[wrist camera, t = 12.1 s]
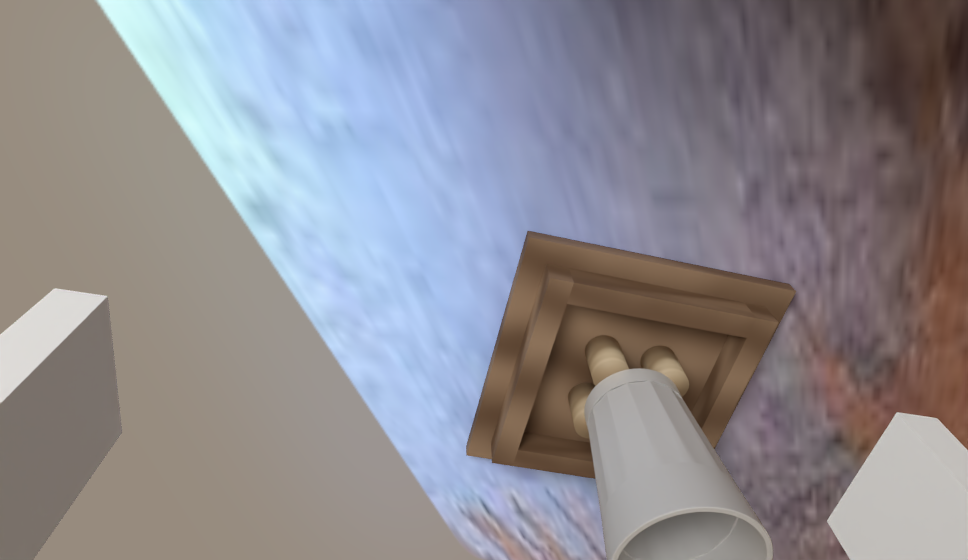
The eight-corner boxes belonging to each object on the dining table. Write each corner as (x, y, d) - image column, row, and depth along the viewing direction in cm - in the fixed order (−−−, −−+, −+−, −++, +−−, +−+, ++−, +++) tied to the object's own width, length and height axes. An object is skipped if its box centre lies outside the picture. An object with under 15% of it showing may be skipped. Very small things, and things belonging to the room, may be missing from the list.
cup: (667, 462, 44) (733, 626, 33) (556, 444, 43) (588, 608, 32) (712, 369, 40) (801, 520, 30) (593, 347, 39) (641, 496, 29)
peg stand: (527, 230, 40) (534, 258, 36) (789, 284, 42) (819, 315, 39) (466, 445, 48) (466, 485, 44) (688, 480, 50) (706, 521, 47)
